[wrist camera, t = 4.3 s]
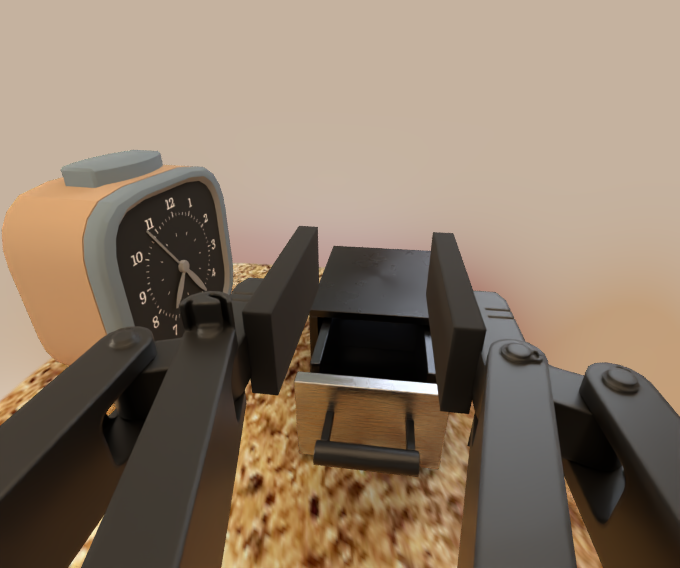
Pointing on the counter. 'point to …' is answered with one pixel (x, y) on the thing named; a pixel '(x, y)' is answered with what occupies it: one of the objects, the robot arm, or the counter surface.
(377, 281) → the cabinet
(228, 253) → the alarm clock
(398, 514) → the counter surface
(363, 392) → the drawer
